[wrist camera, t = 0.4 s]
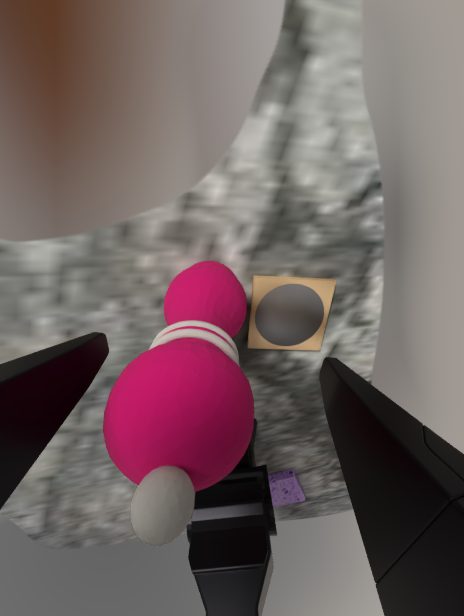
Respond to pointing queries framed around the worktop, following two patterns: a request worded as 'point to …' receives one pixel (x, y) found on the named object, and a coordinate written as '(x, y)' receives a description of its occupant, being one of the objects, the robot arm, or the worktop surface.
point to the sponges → (285, 488)
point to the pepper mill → (183, 403)
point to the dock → (289, 312)
